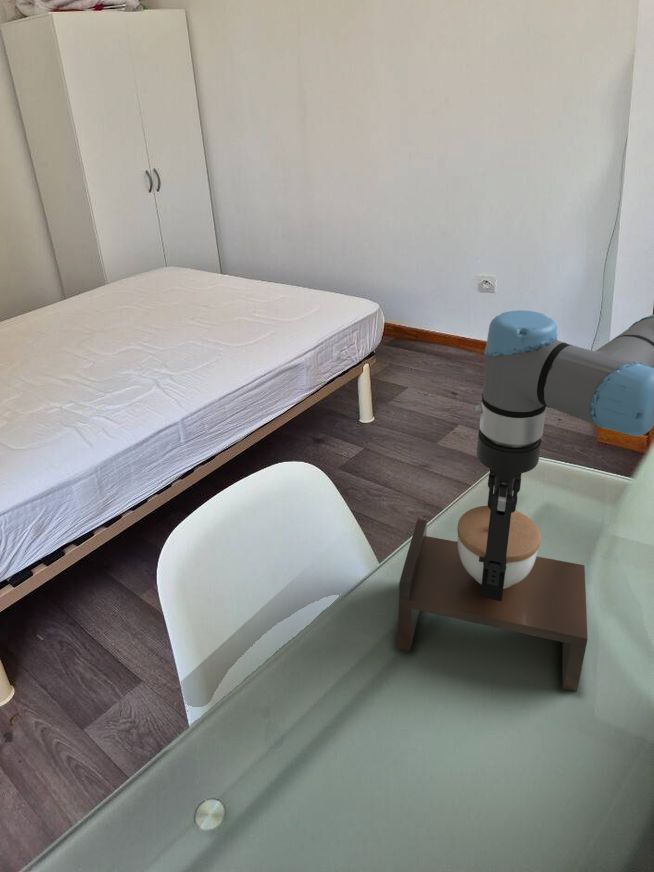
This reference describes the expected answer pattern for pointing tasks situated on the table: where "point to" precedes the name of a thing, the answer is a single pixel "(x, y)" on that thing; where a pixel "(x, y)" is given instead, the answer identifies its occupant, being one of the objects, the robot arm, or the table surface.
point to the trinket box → (519, 547)
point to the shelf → (518, 611)
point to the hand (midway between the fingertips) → (494, 568)
